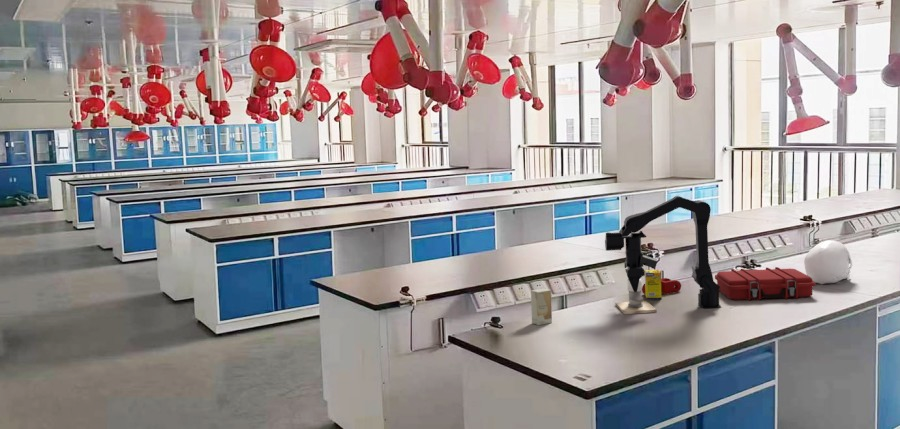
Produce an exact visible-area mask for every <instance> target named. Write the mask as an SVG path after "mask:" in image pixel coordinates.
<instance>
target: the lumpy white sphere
mask: <svg viewBox="0 0 900 429" xmlns="http://www.w3.org/2000/svg"><path fill="white" fill-rule="evenodd" d="M803 263H804V264H803V266H804V269H805V274H806V275H808V276H810V277H811V278H812V281H814V282H815V284H820V285H823V284H836V283H838V282H840V281H842V280H846V281H850V279H851V269H852V266H853V261H852V257H851V255H850V251H849V250H848V249H847V247H846V246H845V245H844V244H843V243H842V242H841V241H838V240H833V239H829V240H824V241H821V242H819V243H817V244H816V245H814V246H813V247H812V248H811V249H810V250H809V251H808V252H807V253H806V254H805V256H804V260H803ZM849 265H850V266H849Z"/></svg>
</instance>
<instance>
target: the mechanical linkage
mask: <svg viewBox="0 0 900 429" xmlns="http://www.w3.org/2000/svg"><path fill="white" fill-rule="evenodd" d="M681 288H682V284H681V282H680V281H678V280H676V279H672V280H671V279H670V278H667V277H664V278H662V277H661V294H663V293H664V295H668V294H667V293H669V294H674V293H673V292H675V293H679V292H680V291H681ZM641 293H643V294H644V295H645V283H644V284H642V291H641Z"/></svg>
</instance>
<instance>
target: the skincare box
mask: <svg viewBox="0 0 900 429" xmlns="http://www.w3.org/2000/svg"><path fill="white" fill-rule="evenodd" d="M530 298H531V299H530V300H531V302H530V303H531V304H530V305H531V306H530V308H531V323H532V324H534V325H537V326H540V325H541V326H542V325H547V324H551V323H552V322H553V318H552V317H553V316H552V315H553V312H552V289H549V288H536V289H533V290H530Z"/></svg>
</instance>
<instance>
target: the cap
mask: <svg viewBox="0 0 900 429" xmlns="http://www.w3.org/2000/svg"><path fill="white" fill-rule="evenodd" d="M642 280H643V279H642V278H640V279H639V284H638V289H637V292H638V291H641V292H642V286H643V281H642ZM627 291H628V292H629V291H631V292H634V291H633V288H632V286H631V284H630V281H629V279H628V278H627Z"/></svg>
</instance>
